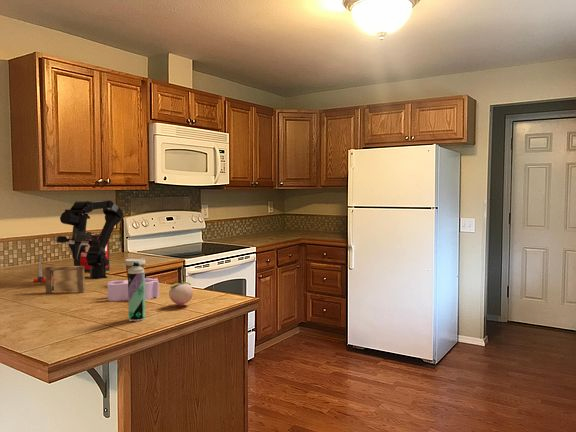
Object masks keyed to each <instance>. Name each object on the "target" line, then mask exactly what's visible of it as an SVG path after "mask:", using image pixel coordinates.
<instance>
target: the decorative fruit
mask: <svg viewBox="0 0 576 432" xmlns="http://www.w3.org/2000/svg"><path fill="white" fill-rule="evenodd" d="M193 294H194V289H193V287H192V284H191V283H190V282H187V281H183V282H182V280H180V282H179V283H177V282H176V283H173V284H172V285H170V289H169V291H168V296H169V299H170V300H171V302H172V303H174V304H176V305H178V306H180V305H182V306H183V305H185V304H187V303H188V302H190V301H191V300H192V298H193Z"/></svg>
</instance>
